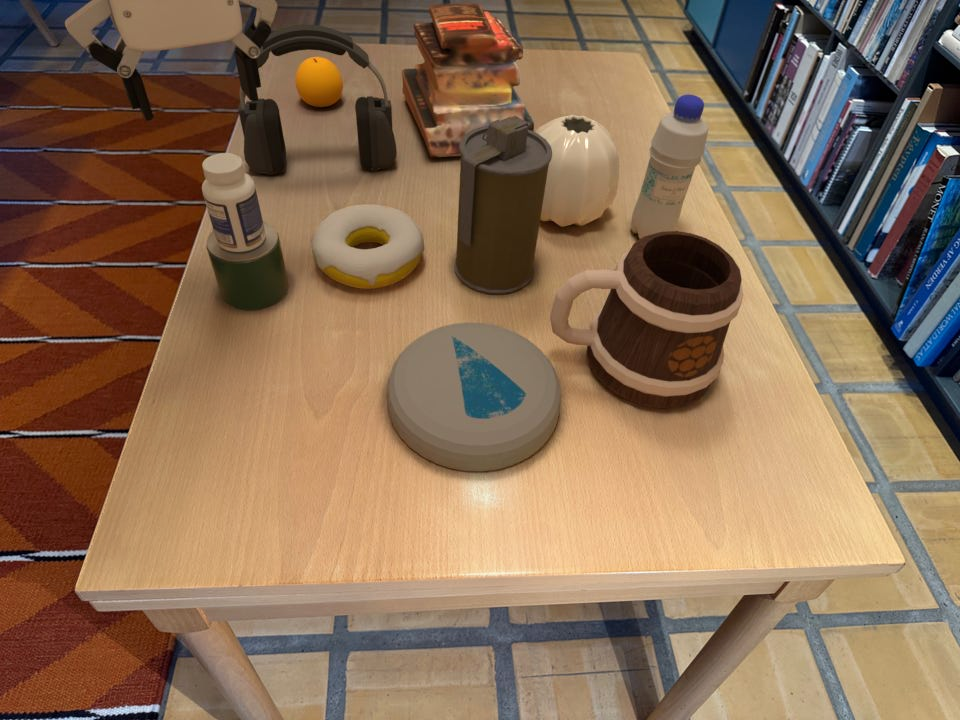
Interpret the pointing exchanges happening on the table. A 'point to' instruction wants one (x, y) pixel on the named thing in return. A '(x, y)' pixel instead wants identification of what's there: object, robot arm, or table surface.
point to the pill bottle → (232, 203)
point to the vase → (578, 170)
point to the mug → (657, 318)
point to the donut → (371, 264)
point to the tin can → (250, 272)
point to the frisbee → (473, 397)
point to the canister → (500, 205)
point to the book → (462, 76)
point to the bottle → (670, 167)
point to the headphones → (263, 115)
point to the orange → (319, 82)
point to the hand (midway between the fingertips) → (200, 104)
